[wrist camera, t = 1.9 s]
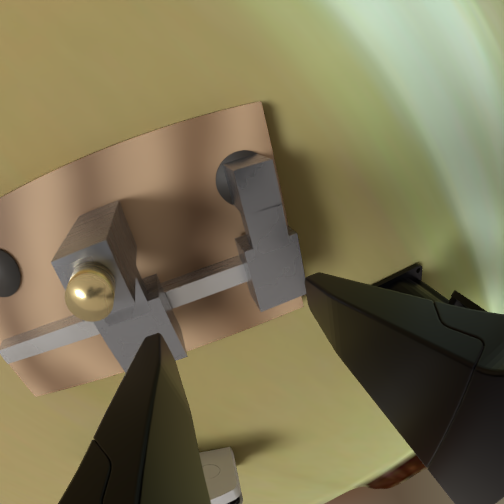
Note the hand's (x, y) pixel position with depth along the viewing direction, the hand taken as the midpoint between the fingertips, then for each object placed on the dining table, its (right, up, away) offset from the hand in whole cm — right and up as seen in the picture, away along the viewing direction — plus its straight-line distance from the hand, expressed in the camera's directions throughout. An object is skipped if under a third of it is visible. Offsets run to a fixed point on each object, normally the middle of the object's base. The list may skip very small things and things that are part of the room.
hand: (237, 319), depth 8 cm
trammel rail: (-8, 0, +10) cm, 12 cm away
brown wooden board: (-8, +1, +11) cm, 13 cm away
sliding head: (-7, 0, +10) cm, 12 cm away
